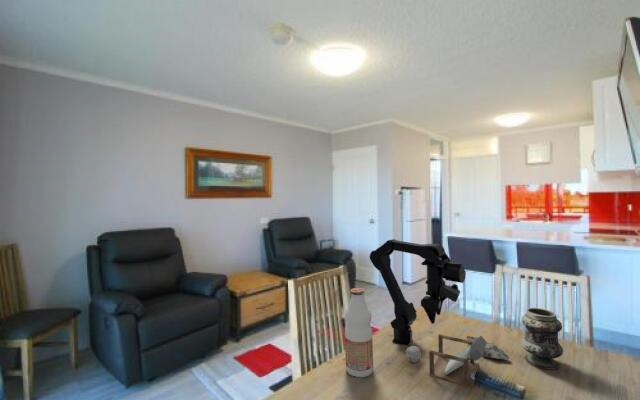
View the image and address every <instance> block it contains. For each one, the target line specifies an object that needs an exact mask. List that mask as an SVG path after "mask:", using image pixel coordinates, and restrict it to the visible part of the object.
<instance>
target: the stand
mask: <svg viewBox="0 0 640 400" xmlns="http://www.w3.org/2000/svg"><path fill="white" fill-rule="evenodd" d="M437 339H438V351H435V350H431V349H430V350H429V352H428V353H429V355H428V357H429V361H428V362H429V366H428V367H429V376H430V377H434V378H438V379H440V380H441V379H442V380H443V381H447V382H450V383H454V384H458V385H461V386H465V387H469V388H472V389H474V386H475V382H476V379H475V380H473V379H472V378H471V373H473V372H477V373H478V370H479V366H480V364H479V362H476V361H474V360H473V358H472V359H471V360H469V361H468V359H465V358H460V357H456V356H454V355H452V354H451V355H450V354H447V353H444V348H443V347H444V344H443V343H444V341H443V340H449V341H454V342H458V343H461V344H462V343H463V344H466V345H468V344H470V345H472V344H473V341H468V339H463V338H458V337H454V336H449V335H446V334H445V335H444V334H441V333H440V334H438V338H437ZM435 356H436V357H437V359H436V361H435ZM450 359H452V360H456V361H460V362H464V365H462V366H460V367H458V368H457V369H455V370H453V371H452V372H450V373H448V374H447V375H446V374H445V373H444V372H445V369H446V367H447V365H448V362H449V360H450Z"/></svg>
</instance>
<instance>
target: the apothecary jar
mask: <svg viewBox="0 0 640 400" xmlns="http://www.w3.org/2000/svg"><path fill="white" fill-rule="evenodd" d="M520 319H521V323H522V325H523V326H524V327H525V328H524V329H525V330H524V331H525V333H524V336H523V337H522V338H521V341H520V344H521V346H522V348H523V349H524V350H525V351H526V352H528V353H529V354H526V355H525V357H524V360H525V361H526V362H527V363H528V364H529V365H531V366H534V367H535V368H539V369H544V370H547V371H548V370H550V371H551V370H552V371H553V370H558V369H560V363H559V362H558V361H557V360H555V359H558V358H559V357H561V356H563V353H564V349H563V346H562V345H561V343H559V332H561V331H562V330H563V324H562V322H561V321H560V320H559V319H558V318H557V314H556V313H555V312H554V311H552V310H550V309H546V308H542V307H541V308H540V307H528V308H526V313H525V314H523V315H522V316H521V318H520Z"/></svg>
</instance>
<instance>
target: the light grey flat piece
mask: <svg viewBox="0 0 640 400" xmlns="http://www.w3.org/2000/svg"><path fill="white" fill-rule="evenodd" d="M486 342H487V341H486V340H485V338H484V337H483V336H482V335H480V336H478V337H477V338H476V339H475V340H474V341H473V344H472V345H470V346H468V345H467V347H465V348H464V349H461V351H459V352H457V353H456V354H454V355H453V356H456V357H460V358H465V359H468V361H470V360H471V359H472V358H473V360H474V362H476V361H478V360H480V359H482V358H483V355H484V351H485V346H486ZM462 365H464V362H460V361H456V360H452V359H450V360H449V362H448V365H447V367H446V369H445V372H444V373H445V374H446V375H447V374H448V373H450V372H452V371H453V370H455V369H457V368H458V367H460V366H462Z"/></svg>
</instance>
